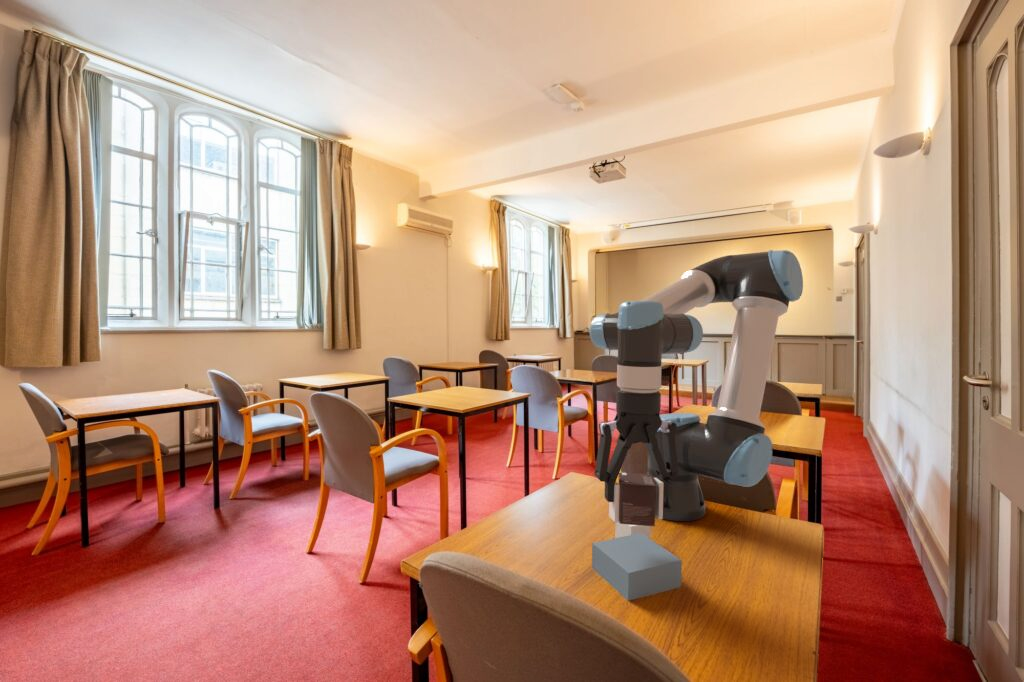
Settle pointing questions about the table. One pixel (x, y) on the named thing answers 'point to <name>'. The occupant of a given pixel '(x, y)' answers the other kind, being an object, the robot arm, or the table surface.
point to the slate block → (636, 566)
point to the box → (637, 499)
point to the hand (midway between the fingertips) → (635, 517)
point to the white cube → (631, 530)
